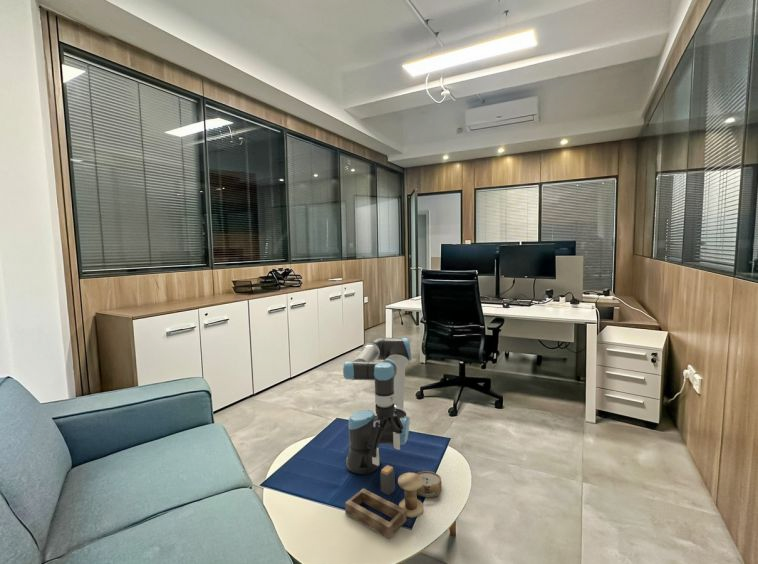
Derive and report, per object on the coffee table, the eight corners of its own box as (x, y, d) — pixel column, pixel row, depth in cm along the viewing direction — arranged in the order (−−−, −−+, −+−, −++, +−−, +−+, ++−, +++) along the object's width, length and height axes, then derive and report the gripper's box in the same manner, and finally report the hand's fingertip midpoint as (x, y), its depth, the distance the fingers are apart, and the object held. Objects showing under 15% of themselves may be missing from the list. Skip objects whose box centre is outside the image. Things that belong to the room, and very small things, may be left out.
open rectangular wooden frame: (345, 513, 131) (345, 502, 131) (363, 498, 139) (363, 488, 139) (389, 538, 119) (388, 527, 118) (406, 520, 126) (406, 509, 126)
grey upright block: (380, 491, 142) (380, 469, 142) (387, 486, 146) (386, 464, 145) (388, 495, 140) (388, 472, 139) (394, 489, 143) (394, 467, 142)
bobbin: (394, 510, 132) (393, 481, 131) (407, 497, 139) (407, 469, 138) (414, 521, 126) (413, 491, 125) (428, 506, 133) (427, 478, 132)
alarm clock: (441, 471, 150) (441, 488, 135) (441, 484, 149) (441, 502, 134) (413, 470, 151) (411, 486, 137) (414, 482, 151) (411, 500, 136)
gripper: (371, 417, 128) (373, 475, 129) (410, 395, 147) (412, 445, 149) (356, 412, 133) (358, 467, 134) (395, 391, 152) (397, 440, 154)
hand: (386, 456), depth 141 cm, fingers open, 13 cm apart
